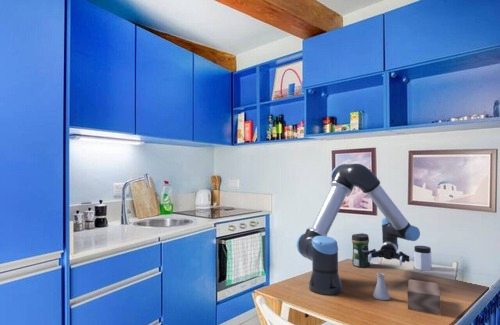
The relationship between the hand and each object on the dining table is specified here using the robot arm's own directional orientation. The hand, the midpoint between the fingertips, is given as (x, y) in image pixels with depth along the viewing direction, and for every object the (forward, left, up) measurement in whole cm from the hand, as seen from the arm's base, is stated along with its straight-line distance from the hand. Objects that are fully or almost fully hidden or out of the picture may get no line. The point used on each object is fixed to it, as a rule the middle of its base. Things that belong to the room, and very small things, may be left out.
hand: (384, 260), depth 145 cm
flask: (-1, -11, -13) cm, 17 cm away
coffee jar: (-17, +36, -13) cm, 42 cm away
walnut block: (+15, -11, -13) cm, 23 cm away
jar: (+15, +46, -13) cm, 50 cm away
